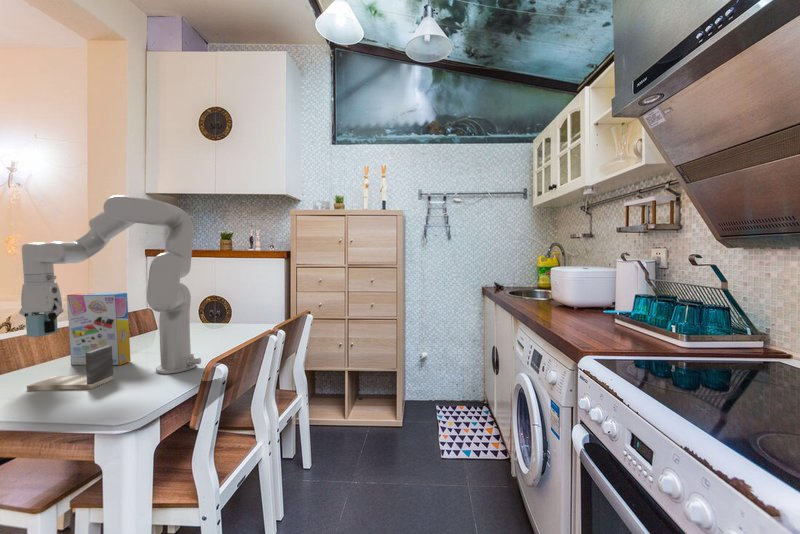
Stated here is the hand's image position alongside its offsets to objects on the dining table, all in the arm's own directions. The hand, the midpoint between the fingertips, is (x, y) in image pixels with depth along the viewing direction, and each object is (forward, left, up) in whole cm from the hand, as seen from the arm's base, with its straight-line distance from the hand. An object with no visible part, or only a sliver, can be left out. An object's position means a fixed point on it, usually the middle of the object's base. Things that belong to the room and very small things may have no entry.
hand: (42, 331), depth 129 cm
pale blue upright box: (0, 0, -1) cm, 1 cm away
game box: (-7, -16, -16) cm, 24 cm away
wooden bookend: (-16, +8, -16) cm, 24 cm away
